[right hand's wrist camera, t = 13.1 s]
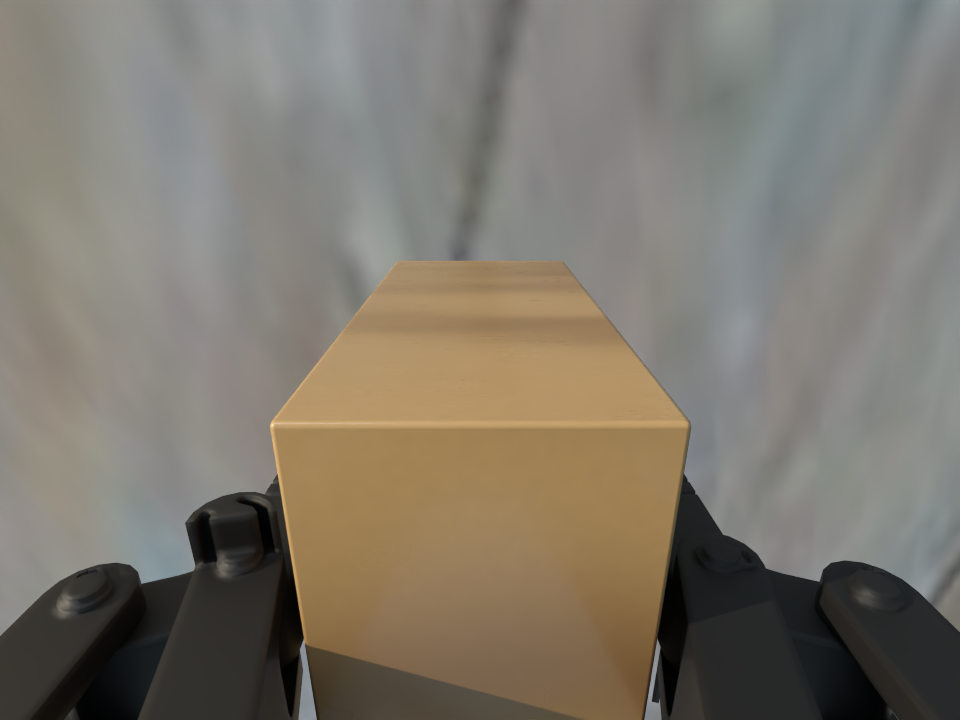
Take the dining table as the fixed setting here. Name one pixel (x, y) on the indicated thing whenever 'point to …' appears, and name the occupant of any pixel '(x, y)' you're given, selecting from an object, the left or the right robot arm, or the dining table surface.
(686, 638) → the right robot arm
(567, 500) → the bar
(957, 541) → the dining table surface
